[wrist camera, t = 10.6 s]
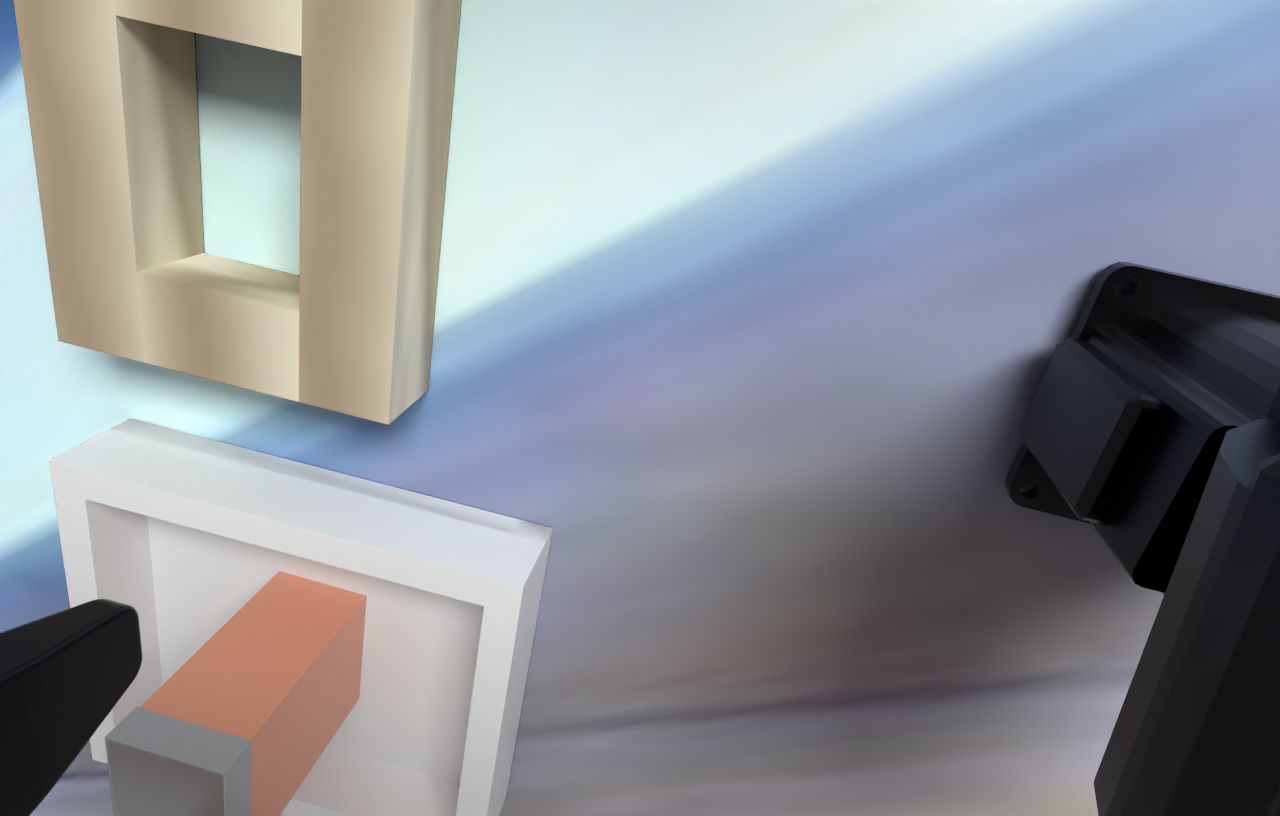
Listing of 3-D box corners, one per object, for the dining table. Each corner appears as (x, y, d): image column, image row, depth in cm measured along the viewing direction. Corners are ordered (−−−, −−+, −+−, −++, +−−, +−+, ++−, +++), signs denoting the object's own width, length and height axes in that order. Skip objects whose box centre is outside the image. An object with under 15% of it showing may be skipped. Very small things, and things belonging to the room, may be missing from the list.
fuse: (368, 594, 24) (225, 774, 18) (360, 699, 26) (228, 895, 20) (278, 569, 25) (104, 737, 18) (276, 675, 26) (119, 861, 20)
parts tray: (553, 528, 23) (523, 586, 20) (506, 796, 28) (477, 873, 25) (130, 418, 24) (48, 460, 21) (156, 696, 29) (92, 759, 26)
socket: (464, -34, 18) (418, -53, 15) (428, 390, 22) (388, 424, 20) (92, -111, 18) (-5, -140, 16) (130, 316, 23) (58, 340, 20)
